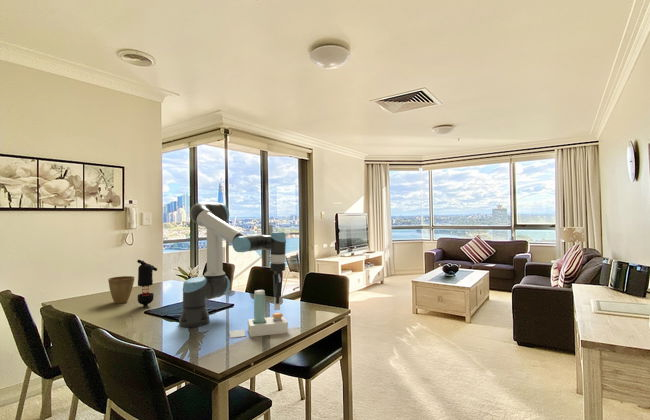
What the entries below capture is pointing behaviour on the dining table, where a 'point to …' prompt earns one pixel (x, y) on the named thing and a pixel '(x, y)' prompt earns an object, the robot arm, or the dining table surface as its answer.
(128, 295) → the plant pot
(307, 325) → the dining table surface
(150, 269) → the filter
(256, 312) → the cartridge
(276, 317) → the plunger
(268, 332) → the base
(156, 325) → the dining table surface
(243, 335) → the mat
